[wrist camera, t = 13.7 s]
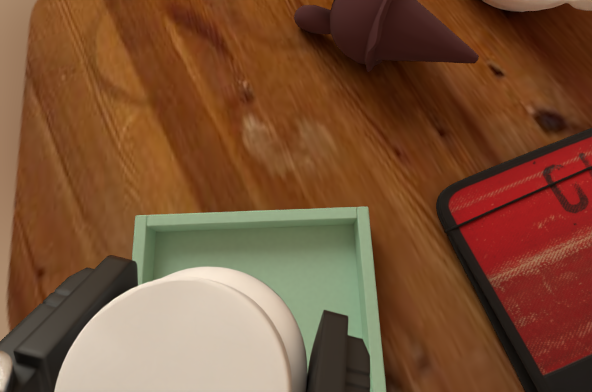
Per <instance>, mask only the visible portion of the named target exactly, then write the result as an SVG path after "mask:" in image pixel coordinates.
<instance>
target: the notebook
mask: <svg viewBox="0 0 592 392" xmlns="http://www.w3.org/2000/svg"><path fill="white" fill-rule="evenodd" d="M436 209H437V214H438V217H439V219H440V221H441V223H442V225H443V227H444V229H445V232H446V233H447V235H448V237H449V240H450V242H451V244H452V246H453V248H454V250H455V252H456V254H457V256H458V258H459V260H460V262H461V264H462V266H463V268H464V270H465V272H466V274H467V276H468V277H469V279H470V281H471V283H472V285H473V287H474V289H475V291H476V293H477V295H478V297H479V299H480V301H481V303H482V305H483V307H484V309H485V311H486V313H487V315H488V317H489V319H490V321H491V323H492V325H493V327H494V329H495V331H496V333H497V335H498V337H499V339H500V341H501V343H502V345H503V347H504V349H505V351H506V353H507V355H508V357H509V359H510V361H511V363H512V365H513V367H514V369H515V371H516V373H517V375H518V377H519V379H520V381H521V383H522V385H523V388H524V389H525V391H526V392H592V128H590V129H588V130H585V131H583V132H580V133H578V134H575V135H573V136H570V137H567V138H565V139H563V140H560V141H557V142H555V143H552V144H550V145H547V146H544V147H542V148H539V149H537V150H534V151H532V152H529V153H527V154H524V155H521V156H519V157H516V158H514V159H512V160H509V161H507V162H504V163H501V164H499V165H496V166H494V167H491V168H489V169H487V170H484V171H482V172H479V173H477V174H474V175H472V176H469V177H467V178H465V179H463V180H460V181H458V182H456V183H454V184H452V185H450V186H448V187H447V188H446V189H445V190H443V191H442V192H441V193H440V195H439V197H438V200H437V204H436Z"/></svg>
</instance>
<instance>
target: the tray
mask: <svg viewBox="0 0 592 392" xmlns="http://www.w3.org/2000/svg"><path fill="white" fill-rule="evenodd" d="M132 260H133V261H136V263H137V269H138V286H139V285H141V284H144V283H147V282H150V281H154V280H157V279H161V278H163V277H165V276H167V275H170V274H172V273H175V272H178V271H181V270H185V269H189V268H195V267H223V268H229V269H233V270H237V271H240V272H243V273H246V274H248V275H251V276H253V277H255V278H257V279H259V280H260V281H262V282H263V283H265V284H266V285H268V286H269V287H270V288H271V289H272V290H274V291H275V292H276V293H277V294H278V295H279V296H280V297H281V299H282V300H283V301H284V302H285V304H286V305H287V306H288V308H289V309H290V311H291V312H292V314H293V316H294V318H295V320H296V321H297V324H298V326H299V329H300V331H301V334H302V337H303V341H304V345H305V349H306V356H307V369H308V367H309V361H310V356H311V351H312V347H313V343H314V340H315V337H316V333H317V330H318V326H319V323H320V320H321V316H322V313H323V310H327V311H331V312H335V313H339V314H343V315H347V316H348V335H349V336H353V337H357V338H361V339H363V341H364V343H365V346H366V348H367V350H368V352H369V355H370V392H386V383H385V373H384V363H383V352H382V342H381V332H380V322H379V312H378V301H377V291H376V281H375V271H374V261H373V251H372V240H371V230H370V220H369V210H368V207H357V208H356V207H345V208H319V209H293V210H266V211H240V212H214V213H188V214H161V215H148V216H147V215H137V216H136V217H135V228H134V241H133V253H132ZM307 373H308V371H307Z"/></svg>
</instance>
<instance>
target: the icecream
mask: <svg viewBox="0 0 592 392" xmlns="http://www.w3.org/2000/svg"><path fill="white" fill-rule="evenodd" d="M294 19H295V22H296V24H297V25H298V27H300V28H302V29H304V30H306V31H308V32H310V33H318V34H330V33H331V35H332V37H333V39H334V41H335V44H336V45H337V46H338V48H339V49H340V50H341V51H342V52H343V53H344V54H345V55H346V56H348V57H349V58H351V59H352V60H354V61H356V62H357V63H359V64H366V68H367V72H369V71H371V70H372V69H373V67H374V66H376V65H377V64H379V63H381V62H382V60H393V61H426V62H453V63H475V62H476V61H477V60H478V57H479V56H478V55H477V54H476V53H475V52H474V51H473V50H472V49H471V48H470V47H469V46H468V45H467V44H465V43H464V42H463V41H462V40H461V39H460V38H459V37H458V36H456V35H455V34H454V33H453V32H452V31H451V30H450V29H448V28H447V27H446V26H445V25H444V24H443V23H442V22H441V21H439V20H438V19H437V18H436V17H435V16H434V15H433V14H432V13H430V12H429V11H428V10H427V9H426V8H425V7H424V6H422V5H421V4H420V3H419V2H418V1H417V0H334V2H333V4H332V8H331V10H328V9H325V8H322V7H319V6H316V5H303V6H302V7H300V8H299V9H298V10H297V11H296V13H295V17H294Z"/></svg>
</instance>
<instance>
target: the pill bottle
mask: <svg viewBox="0 0 592 392" xmlns="http://www.w3.org/2000/svg"><path fill="white" fill-rule="evenodd" d="M307 371H308V369H307V356H306V349H305V345H304V341H303V337H302V334H301V331H300V329H299V326H298V324H297V321H296V320H295V318H294V316H293V314H292V312H291V311H290V309H289V308H288V306H287V305H286V304H285V302H284V301H283V300H282V299H281V297H280V296H279V295H278V294H277V293H276V292H275V291H274V290H272V289H271V288H270V287H269V286H268V285H266V284H265V283H263V282H262V281H260V280H259V279H257V278H255V277H253V276H251V275H248V274H246V273H243V272H240V271H237V270H233V269H229V268H223V267H195V268H189V269H185V270H181V271H178V272H175V273H172V274H170V275H167V276H165V277H163V278H161V279H157V280H154V281H150V282H147V283H144V284H141V285H139V286H137V287H134V288H132V289H130V290H128V291H126V292H125V293H123V294H121V295H120V296H118V297H116V298H115V299H113V300H112V301H111V302H110V303H108V304H107V305H106V306H104V307H103V308H102V309H101V310H100V311H99V312H98V313H97V314H96V315H95V316H94V317H93V318H92V319H91V320H90V321H89V322H88V323H87V324H86V326H85V327H84V328H83V330H82V331H81V332H80V333H79V335H78V337H77V338H76V340H75V341H74V343H73V345H72V346H71V348H70V349H69V351H68V353H67V355H66V358H65V360H64V362H63V364H62V367H61V369H60V371H59V376H58V379H57V381H56V386H55V390H54V392H306V387H307Z"/></svg>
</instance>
